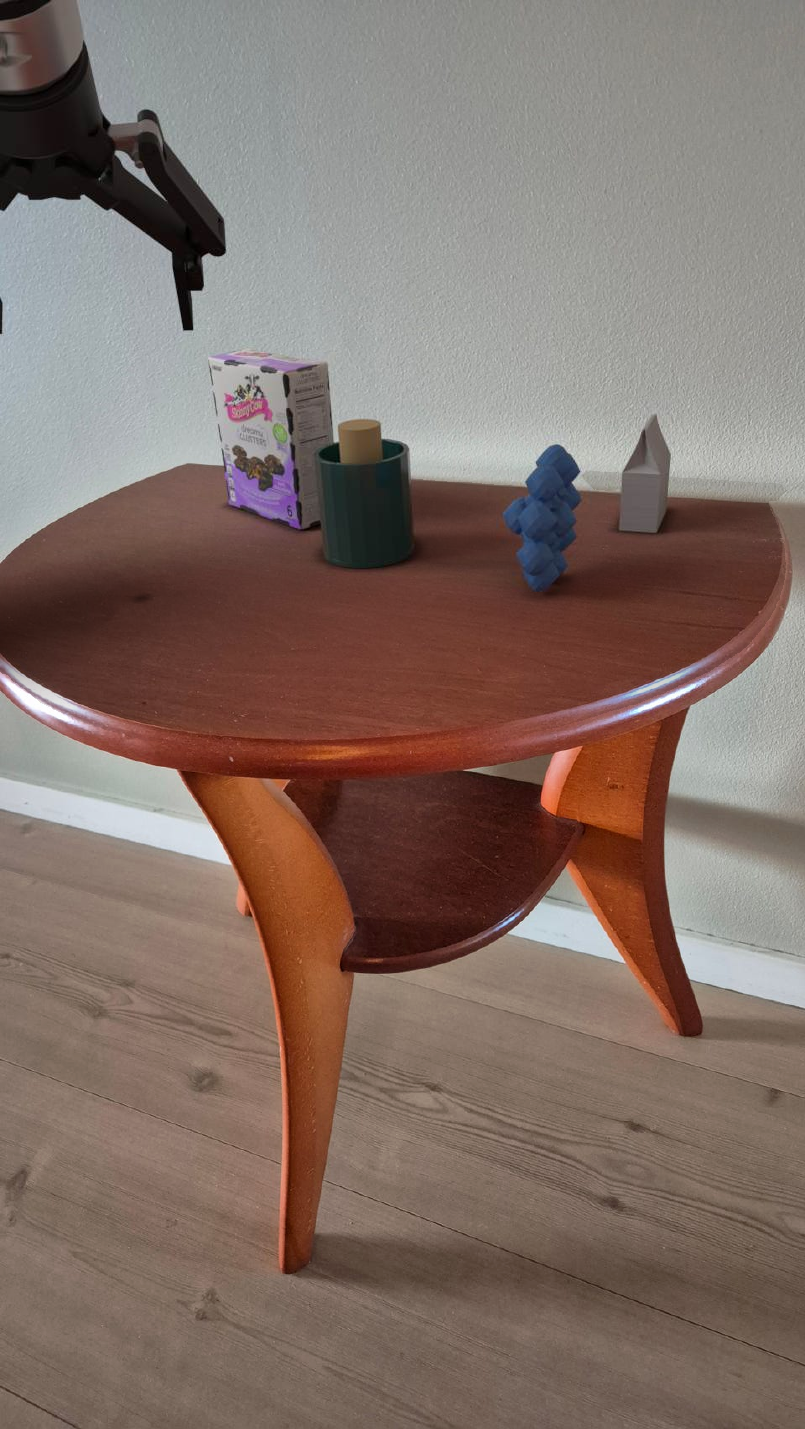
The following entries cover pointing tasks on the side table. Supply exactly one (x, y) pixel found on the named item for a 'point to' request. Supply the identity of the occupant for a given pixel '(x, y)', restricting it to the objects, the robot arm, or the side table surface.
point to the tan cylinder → (360, 441)
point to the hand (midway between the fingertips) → (93, 317)
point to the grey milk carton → (645, 482)
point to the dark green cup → (365, 507)
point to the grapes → (546, 517)
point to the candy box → (272, 431)
